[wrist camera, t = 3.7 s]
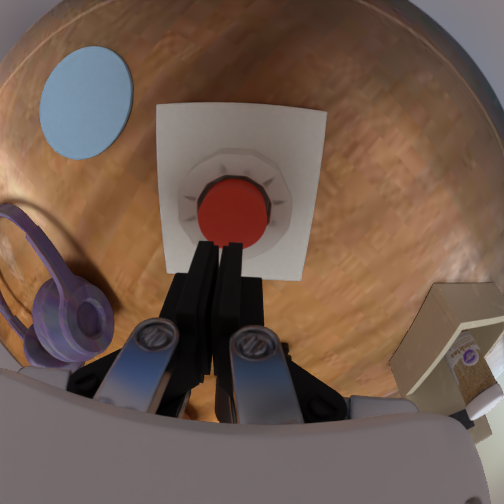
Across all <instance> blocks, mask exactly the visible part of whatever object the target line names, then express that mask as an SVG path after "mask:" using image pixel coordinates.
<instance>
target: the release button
mask: <svg viewBox="0 0 504 504" xmlns="http://www.w3.org/2000/svg"><path fill="white" fill-rule="evenodd" d="M198 224H199V227H200V230H201V232H202V234H203V235H204V237H205V238H206V239H207V240H208V241H214V245H219V248H221V249H223V245H224V246H228V245H229V242H238V243H243V249H245V248H248V247H250V246H252V245H253V244H255V243H256V242H257V241H258V240H259V239H260V238H261V237H262V235H263V234H264V232H265V229H266V225H267V213H266V204H265V200H264V197H263V195H262V193H261V192H260V191H259V189H258V188H257V187H256V186H254V185H253V184H252V183H250V182H248V181H245V180H242V179H236V178H235V179H226V180H222V181H220V182H218V183H216V184H215V185H214V186H212V187H211V188H210V189H209V191H208V192H207V194H206V196H205V198H204V200H203V202H202V204H201V206H200V209H199V212H198Z"/></svg>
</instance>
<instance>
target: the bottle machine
mask: <svg viewBox="0 0 504 504" xmlns="http://www.w3.org/2000/svg"><path fill="white" fill-rule="evenodd" d="M464 329H467V330H468V331H469V332H470V333H471V335H472V336H473V338H474V340H475V341H476V343H477V345H478V347H479V348H480V350H481V353H482V355H483V357H484V358H485V359H486V357H487V356H488V355H489V353H490V352H491V351H492V350H493V348H494V347H495V346H496V344H497V343H498V342H499V340H500V339H501V337H502V336H503V335H504V295H503V293H502V292H501V291H500V290H499V289H498V287H497V286H496V285H495V284H494V283H434V284H433V286H432V288H431V290H430V292H429V294H428V296H427V298H426V300H425V302H424V304H423V306H422V307H421V309H420V311H419V313H418V315H417V317H416V319H415V320H414V322H413V324H412V326H411V327H410V329H409V331H408V333H407V334H406V336H405V338H404V339H403V341H402V343H401V344H400V346H399V347H398V349H397V351H396V352H395V354H394V355H393V357H392V358H391V360H390V361H389V364H390V366H391V369H392V372H393V375H394V377H395V380H396V383H397V386H398V389H399V392H400V395H401V398H404V399H408V400H410V401H412V402H413V403H415V405H416V406H417V407H418V409H419V412H425V413H435V414H440V415H445V416H448V417H451V418H454V419H456V420H457V421H459V422H460V423H461V424H462V425H463V426H464V427H465V428H466V430H467V431H468V433H469V434H470V436H471V438H472V440H473V442H474V445H475V444H478V443H479V442H481V441H483V440H484V439H486V438H488V437H489V436H490V435H492V431H491V429H490V426H489V423H488V421H487V418H486V416H485V414H484V415H483V416H481V417H479V418H477V419H475V420H470V419H469V416H468V414H467V411H466V406H465V402H464V399H463V397H462V395H461V392H460V390H459V388H458V386H457V384H456V382H455V380H454V378H453V375H452V373H451V371H450V369H449V367H448V365H447V363H446V361H445V359H444V357H443V356H444V355H445V354H446V352H447V351H448V350H449V348H450V347H451V345H452V344H453V343H454V341H455V340H456V338H457V337H458V335H459V334H460V332H461V331H462V330H464Z"/></svg>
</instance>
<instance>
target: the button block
mask: <svg viewBox="0 0 504 504" xmlns="http://www.w3.org/2000/svg"><path fill="white" fill-rule="evenodd" d="M326 122H327V112H325V111H319V110H313V109H305V108H298V107H289V106H280V105H268V104H254V103H232V102H191V103H169V104H157V105H156V145H157V172H158V190H159V204H160V216H161V227H162V236H163V245H164V254H165V262H166V269H167V273H171V274H176V273H177V272H179V273H188V271H189V268H190V265H191V262H192V259H193V256H194V253H195V251H196V248H197V245H198V242H199V241H208V240H207V239H206V238H205V237H204V235H203V234H202V232H201V230H200V227H199V224H198V212H199V209H200V206H201V204H202V202H203V200H204V198H205V196H206V194H207V192H208V191H209V189H210V188H211V187H212V186H214V185H215V184H216V183H218V182H220V181H222V180H226V179H235V178H236V179H242V180H245V181H248V182H250V183H252V184H253V185H254V186H256V187H257V188H258V189H259V191H260V192H261V193H262V195H263V197H264V200H265V204H266V213H267V225H266V229H265V232H264V234H263V235H262V237H261V238H260V239H259V240H258V241H257V242H256V243H255V244H253V245H252V246H250V247H248V248H245V249H243V256H242V275H241V276H244V277H262V279H266V280H288V281H301V277H302V273H303V268H304V262H305V257H306V252H307V247H308V241H309V236H310V230H311V225H312V219H313V213H314V207H315V201H316V195H317V188H318V182H319V175H320V168H321V161H322V154H323V146H324V138H325V130H326ZM221 254H222V249H221V248H219V264H220V259H221Z"/></svg>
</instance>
